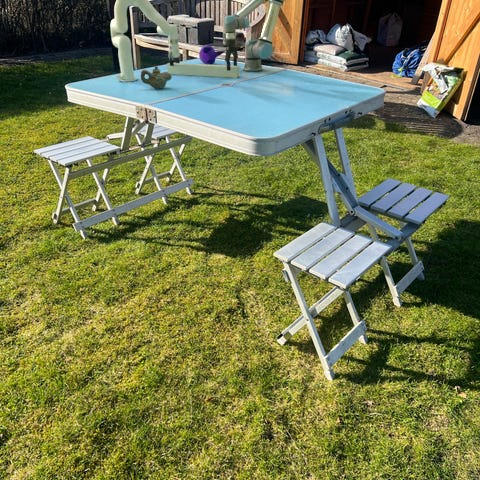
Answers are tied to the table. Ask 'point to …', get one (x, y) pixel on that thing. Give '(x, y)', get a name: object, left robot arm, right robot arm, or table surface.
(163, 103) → the table surface
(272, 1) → the right robot arm
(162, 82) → the teapot
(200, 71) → the block
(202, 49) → the toy
